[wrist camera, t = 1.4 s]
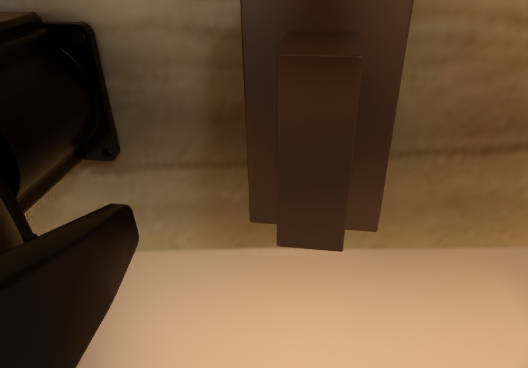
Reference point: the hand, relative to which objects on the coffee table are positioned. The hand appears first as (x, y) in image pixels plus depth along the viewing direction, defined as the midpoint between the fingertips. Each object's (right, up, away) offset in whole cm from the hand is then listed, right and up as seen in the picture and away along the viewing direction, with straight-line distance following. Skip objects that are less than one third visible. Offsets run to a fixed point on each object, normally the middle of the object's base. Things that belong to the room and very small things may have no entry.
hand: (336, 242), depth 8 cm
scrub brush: (+1, +5, +10) cm, 11 cm away
